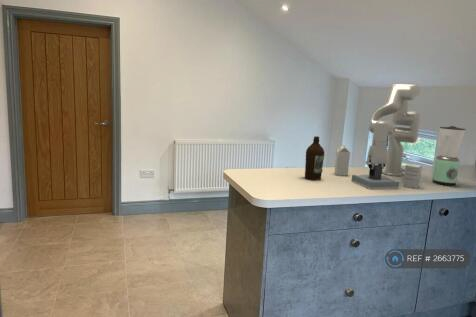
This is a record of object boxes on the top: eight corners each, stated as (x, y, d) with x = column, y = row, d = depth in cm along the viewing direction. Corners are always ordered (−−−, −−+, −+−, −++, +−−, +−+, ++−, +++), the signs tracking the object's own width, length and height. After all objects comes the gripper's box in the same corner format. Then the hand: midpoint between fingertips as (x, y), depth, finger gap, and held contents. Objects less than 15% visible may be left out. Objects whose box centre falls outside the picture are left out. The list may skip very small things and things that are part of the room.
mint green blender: (463, 187, 213) (473, 128, 207) (441, 186, 212) (451, 127, 206) (443, 180, 232) (451, 125, 226) (423, 179, 231) (431, 124, 225)
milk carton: (345, 173, 234) (348, 144, 231) (347, 176, 227) (351, 146, 224) (334, 173, 235) (337, 144, 231) (336, 175, 228) (339, 145, 224)
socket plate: (377, 181, 218) (378, 173, 217) (398, 188, 201) (399, 180, 200) (351, 181, 213) (352, 173, 212) (370, 189, 196) (371, 181, 195)
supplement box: (405, 184, 213) (408, 163, 211) (419, 187, 208) (422, 165, 206) (402, 186, 207) (405, 164, 205) (416, 189, 203) (419, 167, 201)
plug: (375, 178, 209) (377, 164, 207) (380, 179, 205) (382, 166, 203) (368, 178, 208) (370, 164, 206) (373, 179, 203) (375, 165, 202)
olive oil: (299, 177, 216) (303, 135, 212) (312, 175, 222) (316, 135, 218) (312, 181, 207) (316, 137, 203) (325, 179, 213) (329, 137, 209)
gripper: (387, 143, 209) (383, 174, 212) (362, 142, 204) (358, 174, 207) (396, 145, 201) (392, 177, 204) (370, 144, 197) (366, 177, 200)
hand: (375, 175), depth 206 cm, fingers closed on plug, 4 cm apart
